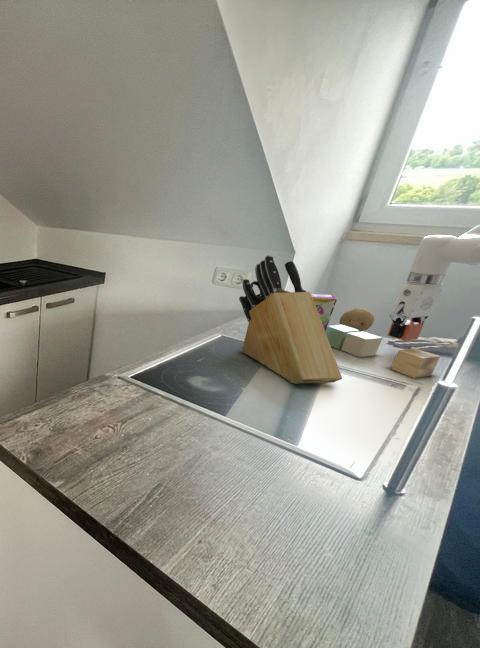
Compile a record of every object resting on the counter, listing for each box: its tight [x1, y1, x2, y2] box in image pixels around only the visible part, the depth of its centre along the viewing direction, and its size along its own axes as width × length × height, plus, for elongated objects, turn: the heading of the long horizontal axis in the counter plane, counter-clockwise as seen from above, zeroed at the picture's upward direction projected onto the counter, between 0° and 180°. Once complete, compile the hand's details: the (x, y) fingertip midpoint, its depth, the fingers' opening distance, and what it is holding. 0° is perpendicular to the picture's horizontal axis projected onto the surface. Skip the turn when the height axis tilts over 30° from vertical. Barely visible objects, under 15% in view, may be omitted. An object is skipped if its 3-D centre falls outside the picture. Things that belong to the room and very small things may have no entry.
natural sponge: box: [339, 307, 375, 332], centre depth 137 cm, size 9×9×10 cm
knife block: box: [238, 254, 343, 385], centre depth 114 cm, size 11×35×31 cm, turn 2°
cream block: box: [340, 331, 383, 358], centre depth 124 cm, size 6×6×6 cm
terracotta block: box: [386, 319, 425, 342], centre depth 122 cm, size 5×5×5 cm
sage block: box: [325, 324, 360, 350], centre depth 130 cm, size 6×6×6 cm
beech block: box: [390, 347, 441, 379], centre depth 110 cm, size 6×6×6 cm
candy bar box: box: [311, 293, 338, 331], centre depth 131 cm, size 11×5×16 cm, turn 71°
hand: (402, 335), depth 123 cm, fingers closed on terracotta block, 5 cm apart
